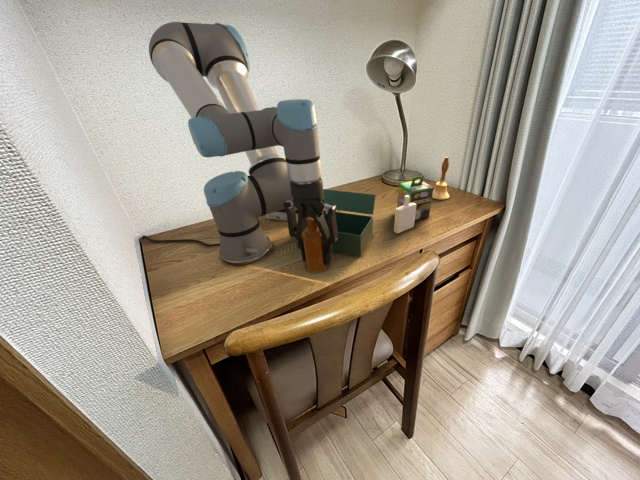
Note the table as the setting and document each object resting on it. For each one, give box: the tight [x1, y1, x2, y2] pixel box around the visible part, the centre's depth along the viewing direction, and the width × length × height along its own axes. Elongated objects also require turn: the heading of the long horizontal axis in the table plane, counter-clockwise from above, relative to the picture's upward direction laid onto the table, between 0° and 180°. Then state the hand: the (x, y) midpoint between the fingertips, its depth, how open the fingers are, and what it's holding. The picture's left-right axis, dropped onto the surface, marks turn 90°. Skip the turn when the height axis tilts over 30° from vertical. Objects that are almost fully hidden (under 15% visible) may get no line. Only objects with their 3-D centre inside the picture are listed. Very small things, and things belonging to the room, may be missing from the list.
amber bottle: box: [302, 217, 329, 273], centre depth 70 cm, size 6×6×15 cm
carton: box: [297, 209, 374, 257], centre depth 83 cm, size 21×13×7 cm, turn 70°
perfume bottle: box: [393, 195, 416, 234], centre depth 86 cm, size 8×2×12 cm, turn 124°
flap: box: [323, 188, 377, 216], centre depth 85 cm, size 21×6×1 cm
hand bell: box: [432, 156, 450, 201], centre depth 107 cm, size 8×8×16 cm
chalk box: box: [396, 175, 435, 221], centre depth 94 cm, size 9×9×15 cm
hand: (316, 260), depth 74 cm, fingers closed on amber bottle, 6 cm apart
